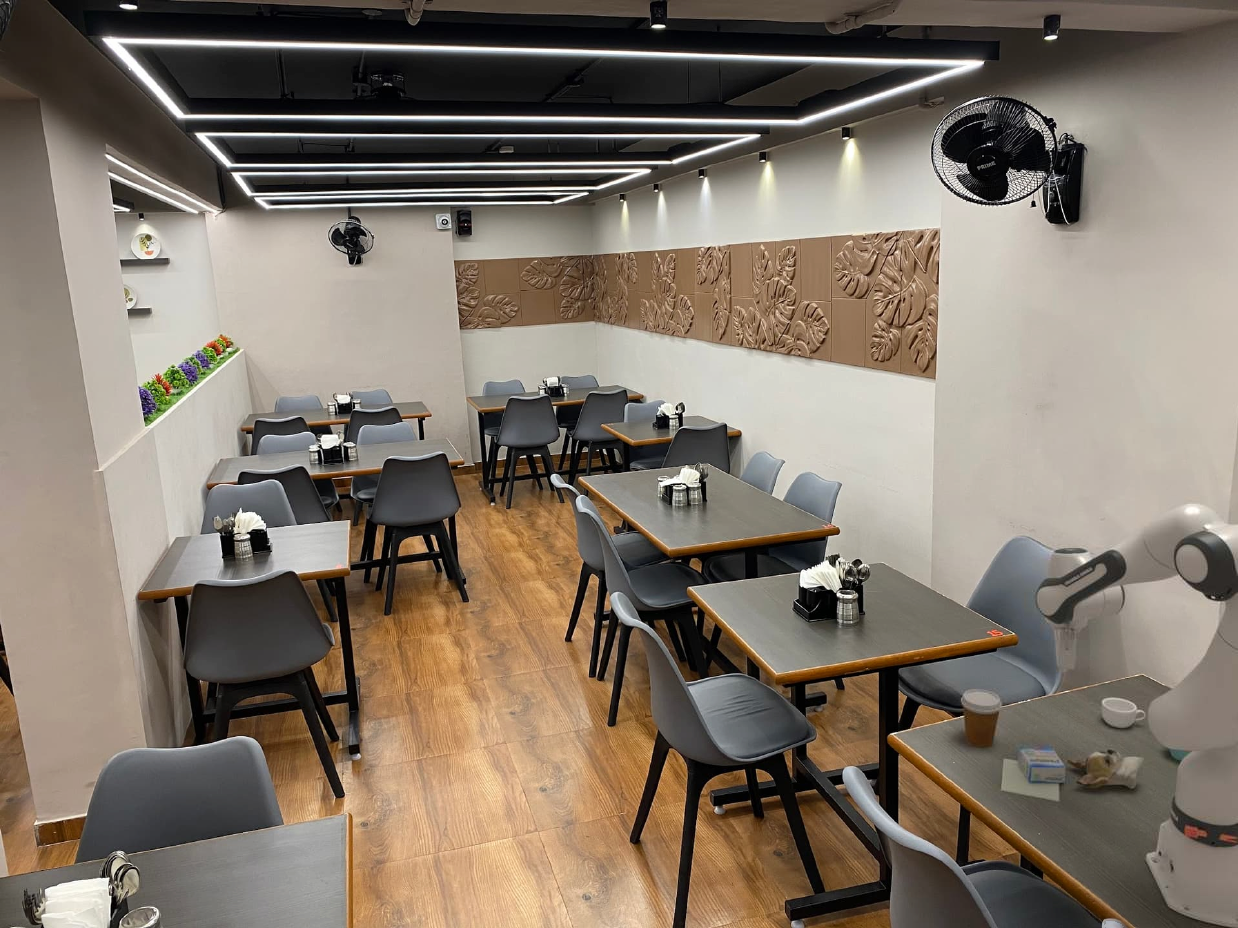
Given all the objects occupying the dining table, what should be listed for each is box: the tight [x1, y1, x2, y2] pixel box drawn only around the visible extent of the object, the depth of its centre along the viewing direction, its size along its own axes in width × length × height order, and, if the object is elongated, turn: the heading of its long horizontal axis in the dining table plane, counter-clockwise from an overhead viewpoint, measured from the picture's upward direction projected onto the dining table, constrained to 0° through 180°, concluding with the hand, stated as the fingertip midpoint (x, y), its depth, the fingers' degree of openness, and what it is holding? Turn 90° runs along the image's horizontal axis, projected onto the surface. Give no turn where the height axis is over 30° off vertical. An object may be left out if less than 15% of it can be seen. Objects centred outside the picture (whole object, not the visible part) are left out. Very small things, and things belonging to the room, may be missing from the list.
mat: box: [1000, 758, 1060, 803], centre depth 209 cm, size 14×12×1 cm
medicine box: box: [1017, 746, 1066, 784], centre depth 210 cm, size 8×4×9 cm
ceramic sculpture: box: [1066, 749, 1145, 790], centre depth 206 cm, size 11×9×15 cm
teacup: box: [1101, 697, 1146, 729], centre depth 230 cm, size 10×8×5 cm
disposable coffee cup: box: [960, 688, 1003, 748], centre depth 225 cm, size 10×10×12 cm
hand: (1062, 670), depth 210 cm, fingers closed
